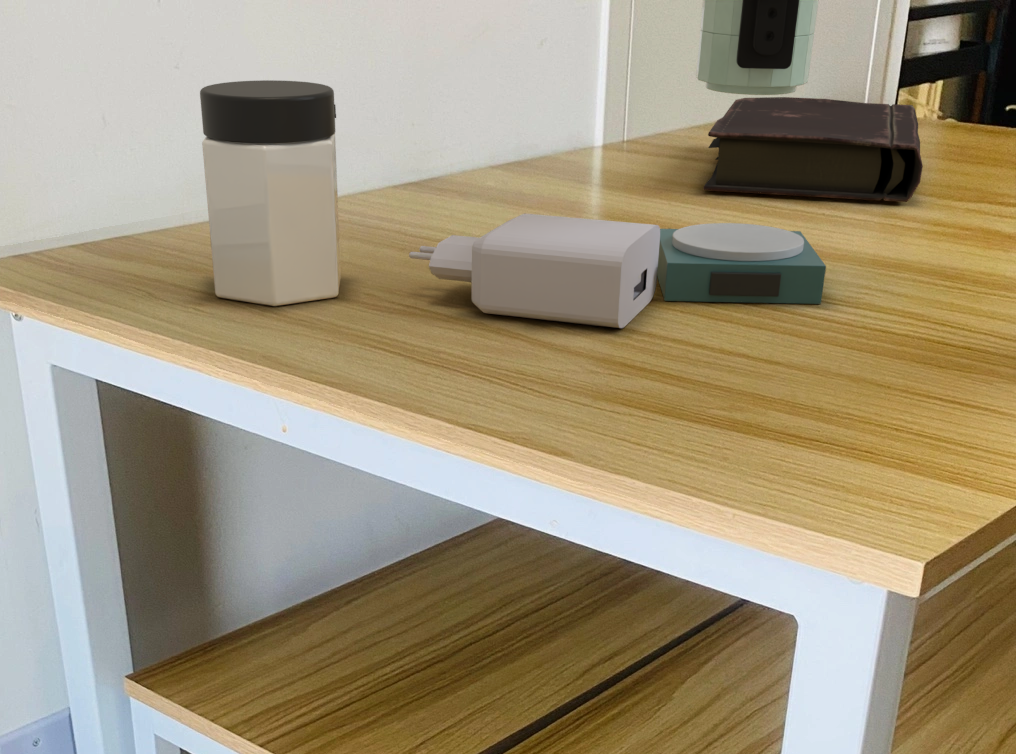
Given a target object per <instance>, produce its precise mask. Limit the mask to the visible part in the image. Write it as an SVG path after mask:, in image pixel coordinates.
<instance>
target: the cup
mask: <svg viewBox="0 0 1016 754" xmlns="http://www.w3.org/2000/svg"><path fill="white" fill-rule="evenodd" d="M742 2H743V0H702V7H701V18H700V30H699V39H698V49H697V60H696V61H697V62H696V71H695V72H696V73H695V78H696V79H697V80H698V81H700V82H703V83H705V88H706V89H708V90H710V91H714V92H718V93H724V94H732V95H734V94H735V95H746V96H749V95H750V96H753V95H754V96H777V95H787V94H788V95H789V94H793V93H795V92H796V91H797V87H799V86H804V85H805V84H808V82H809V77H810V76H809V74H810V68H811V61H812V53H813V46H814V37H815V30H816V25H817V24H816V22H817V14H818V7H819V0H799V7H798V15H797V23H796V31H795V39H794V47H793V55H792V62H791V65H790V67H788V68H787V69H755V68H741V67H739V66H738V64H737V50H738V41H739V31H740V22H741V12H742Z"/></svg>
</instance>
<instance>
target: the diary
mask: <svg viewBox="0 0 1016 754" xmlns="http://www.w3.org/2000/svg"><path fill="white" fill-rule="evenodd" d="M707 135H708V137H710V138H713V139H712V140H711V143H710V144H709V145H708V149H718V155H717V157H716V158H715V159H714V160H715V161H717V163H716V165H715V168H714V169H713V173H712V175H711V177H710V178H709V179H708V180H707V182H706V183H705V184H704V185H703V187H702V189H703V191H710V192H711V191H712V192H714V191H715V192H729V193H745V194H765V195H779V196H780V195H781V196H796V197H797V196H799V197H817V198H830V199H831V198H833V199H847V200H848V199H849V200H866V201H881V200H883V201H884V202H898V203H899V202H901V203H908V201H909V200H910V199H911V198H912V197H913V195H914V193H915V192H916V190H917V189H918V187H919V185H920V183H921V179H922V174H923V167H924V165H923V161H922V157H921V140H920V136H919V121H918V117H917V112H916V108H915V107H914V105H913V104H893V103H892V104H891V105H890V104H889V103H874V102H861V101H860V102H859V101H849V100H839V99H831V98H815V97H814V98H813V97H812V98H811V97H791V96H782V97H781V96H776V97H775V96H774V97H773V96H772V97H770V96H768V97H765V96H764V97H742V98H737V99H735V100H734V102H733V103H732V104H731V105H730V107H729V108H728V110H727V111H726V112H725V114H723V116H722V117H720V118H719V119H717V120H716V122H715V123H714V124H713V126H712V127H711V128H710V130H709V131H708V133H707Z"/></svg>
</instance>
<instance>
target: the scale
mask: <svg viewBox="0 0 1016 754" xmlns="http://www.w3.org/2000/svg"><path fill="white" fill-rule="evenodd" d="M826 270H827V265H826V264H825V262H824V261H823V260H822V259H821V257H820V256H819V254H818V253H817V252H816V250H815V249H814V248H813V246H812V245H811V244H810V242H809V241H808V240H807V238H806V237H805V235H804V234H803V233H802V231H800V230H787V229H783V228H779V227H774V226H768V225H761V224H754V223H739V222H738V223H737V222H713V223H700V224H692V225H688V226H684V227H680V228H660V244H659V257H658V270H657V281H658V284H659V287H660V290H661V294H662V297H663V300H664V301H665V302H694V303H695V302H697V303H698V302H699V303H700V302H702V303H743V304H744V303H745V304H746V303H748V304H795V305H796V304H798V305H801V304H802V305H821V304H822V299H823V291H824V283H825V277H826Z"/></svg>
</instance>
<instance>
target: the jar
mask: <svg viewBox="0 0 1016 754" xmlns="http://www.w3.org/2000/svg"><path fill="white" fill-rule="evenodd" d="M199 97H200V98H199V99H200V110H201V120H202V121H201V122H202V123H201V124H202V133H203V135H204V136H205V137H204V139H203V140H202V141H201V147H202V159H203V169H204V180H205V182H204V183H205V192H206V203H207V214H208V225H209V237H210V247H211V248H210V250H211V261H212V271H213V272H212V273H213V283H214V293H215V296H216V297H218V298H221V299H227V300H232V301H240V302H244V303H252V304H258V305H263V306H269V307H270V306H272V307H278V306H279V307H280V306H285V305H293V304H298V303H299V304H300V303H306V302H312V301H313V302H314V301H320V300H326V299H332V298H333V299H334V298H336V297H338V296H339V293H340V285H341V279H342V278H341V277H342V274H341V273H342V272H341V269H342V268H341V248H340V247H341V246H340V245H341V244H340V225H339V224H340V223H339V222H340V221H339V197H338V173H337V172H338V171H337V148H336V147H337V146H336V119H337V112H336V104H335V93H334V89H333V87H331V86H329V85H326V84H323V83H316V82H309V81H297V80H274V79H273V80H269V79H268V80H266V79H265V80H262V79H261V80H239V81H238V80H237V81H227V82H221V83H220V82H219V83H215V84H214V83H213V84H209V85H206V86H203V87H202V88H201V89H200V90H199Z"/></svg>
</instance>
